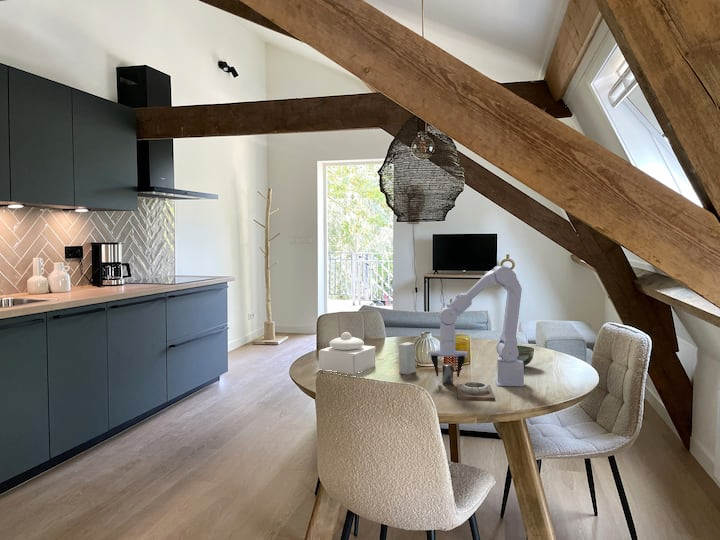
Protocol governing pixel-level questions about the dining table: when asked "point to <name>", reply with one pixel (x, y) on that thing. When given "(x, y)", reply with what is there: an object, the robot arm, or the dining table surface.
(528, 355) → the bowl
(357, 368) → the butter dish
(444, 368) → the cylinder
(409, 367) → the skincare box
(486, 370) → the dining table surface
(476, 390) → the collar board
